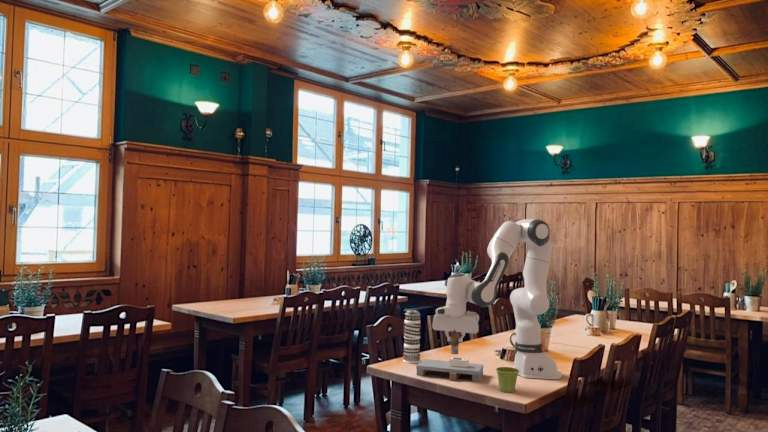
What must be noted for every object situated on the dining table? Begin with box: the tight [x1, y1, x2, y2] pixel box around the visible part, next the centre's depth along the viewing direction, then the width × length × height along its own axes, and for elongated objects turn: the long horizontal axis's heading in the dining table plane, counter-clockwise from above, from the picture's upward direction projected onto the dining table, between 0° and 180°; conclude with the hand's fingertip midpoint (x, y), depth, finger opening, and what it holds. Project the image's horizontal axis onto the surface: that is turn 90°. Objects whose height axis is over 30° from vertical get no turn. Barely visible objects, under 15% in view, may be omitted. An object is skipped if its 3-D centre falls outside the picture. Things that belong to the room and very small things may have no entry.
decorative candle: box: [402, 309, 422, 364], centre depth 284 cm, size 9×9×25 cm
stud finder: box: [448, 356, 470, 367], centre depth 258 cm, size 8×4×3 cm, turn 72°
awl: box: [450, 329, 460, 355], centre depth 253 cm, size 4×4×11 cm
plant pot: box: [495, 366, 519, 393], centre depth 236 cm, size 9×9×9 cm
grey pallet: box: [415, 358, 484, 382], centre depth 259 cm, size 28×18×4 cm, turn 72°
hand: (454, 341), depth 253 cm, fingers closed on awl, 4 cm apart
